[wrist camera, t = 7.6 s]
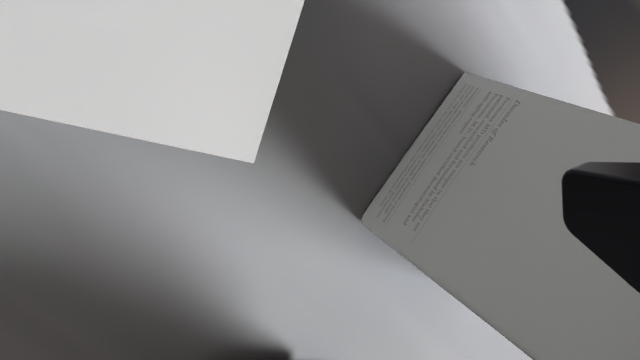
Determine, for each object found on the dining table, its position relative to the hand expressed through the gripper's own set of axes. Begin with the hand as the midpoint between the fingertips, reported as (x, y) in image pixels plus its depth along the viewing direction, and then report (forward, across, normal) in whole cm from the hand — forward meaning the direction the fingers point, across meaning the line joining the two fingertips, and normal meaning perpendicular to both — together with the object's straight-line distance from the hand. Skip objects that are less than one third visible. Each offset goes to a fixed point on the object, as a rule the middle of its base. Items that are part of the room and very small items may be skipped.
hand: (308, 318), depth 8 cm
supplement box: (+13, -12, +7) cm, 19 cm away
